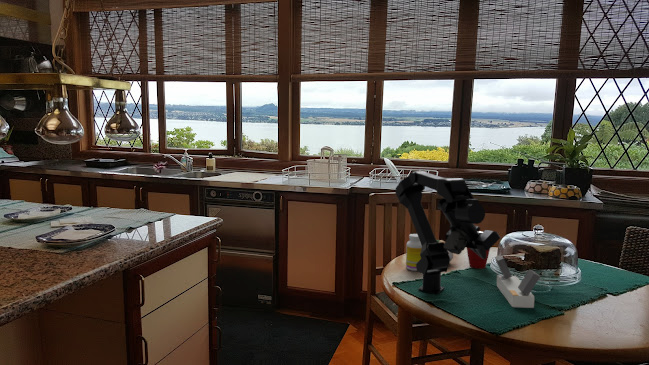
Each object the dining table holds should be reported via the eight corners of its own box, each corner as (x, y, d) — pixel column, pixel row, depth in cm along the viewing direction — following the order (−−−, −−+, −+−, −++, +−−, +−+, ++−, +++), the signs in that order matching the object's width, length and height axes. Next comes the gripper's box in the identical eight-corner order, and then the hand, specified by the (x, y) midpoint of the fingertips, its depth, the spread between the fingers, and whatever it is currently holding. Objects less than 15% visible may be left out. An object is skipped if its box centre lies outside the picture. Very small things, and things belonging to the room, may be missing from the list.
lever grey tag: (506, 279, 144) (497, 260, 143) (502, 275, 148) (494, 257, 147) (512, 276, 143) (503, 258, 143) (508, 272, 147) (500, 254, 147)
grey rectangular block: (521, 292, 130) (534, 273, 129) (517, 287, 134) (529, 269, 132) (528, 295, 130) (540, 276, 128) (523, 290, 133) (535, 272, 132)
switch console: (512, 307, 130) (512, 294, 130) (496, 285, 148) (497, 274, 148) (533, 307, 130) (534, 295, 129) (515, 286, 147) (515, 275, 147)
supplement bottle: (424, 272, 163) (425, 237, 161) (405, 271, 164) (406, 237, 163) (423, 266, 169) (424, 233, 168) (406, 265, 171) (406, 232, 169)
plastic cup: (461, 269, 166) (461, 237, 164) (463, 261, 176) (464, 231, 174) (492, 272, 162) (493, 240, 160) (493, 264, 171) (494, 233, 170)
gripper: (422, 232, 139) (448, 270, 142) (461, 240, 121) (489, 282, 125) (446, 210, 142) (470, 247, 145) (487, 214, 125) (513, 256, 128)
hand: (484, 258), depth 136 cm, fingers closed
